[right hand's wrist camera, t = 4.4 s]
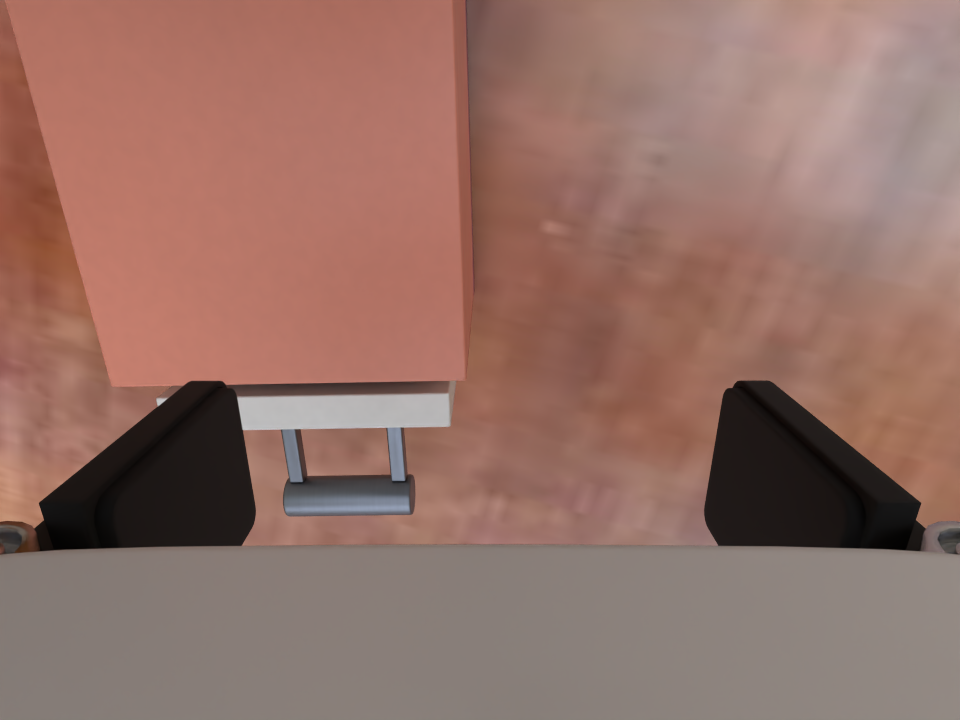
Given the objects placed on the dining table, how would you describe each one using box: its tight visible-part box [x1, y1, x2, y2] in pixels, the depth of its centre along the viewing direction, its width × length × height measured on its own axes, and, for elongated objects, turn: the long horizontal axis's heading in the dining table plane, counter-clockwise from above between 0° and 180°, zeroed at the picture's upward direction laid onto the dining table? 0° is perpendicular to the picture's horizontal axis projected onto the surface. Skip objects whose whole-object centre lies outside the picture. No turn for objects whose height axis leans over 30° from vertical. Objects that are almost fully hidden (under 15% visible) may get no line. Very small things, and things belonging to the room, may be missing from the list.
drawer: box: [156, 381, 456, 516], centre depth 20 cm, size 24×9×9 cm, turn 1°
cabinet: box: [5, 0, 474, 387], centre depth 18 cm, size 19×10×11 cm, turn 1°
